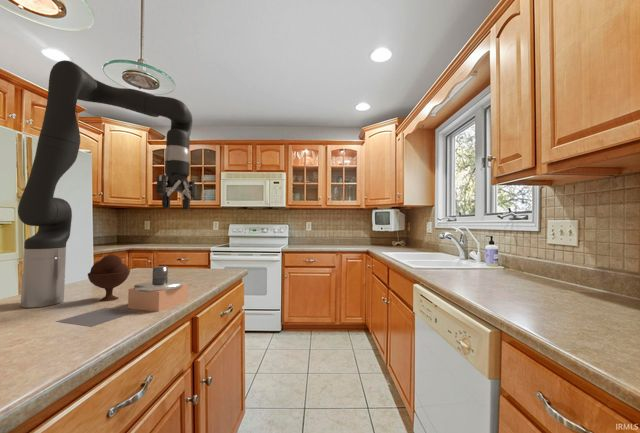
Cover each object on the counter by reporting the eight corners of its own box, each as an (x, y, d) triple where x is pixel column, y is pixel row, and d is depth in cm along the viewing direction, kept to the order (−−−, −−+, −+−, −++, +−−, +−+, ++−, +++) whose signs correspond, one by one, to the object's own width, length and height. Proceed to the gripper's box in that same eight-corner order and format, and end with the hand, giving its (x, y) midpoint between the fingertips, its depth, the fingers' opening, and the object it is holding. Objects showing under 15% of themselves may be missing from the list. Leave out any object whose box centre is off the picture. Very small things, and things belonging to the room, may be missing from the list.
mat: (55, 323, 67) (55, 321, 67) (105, 309, 79) (105, 307, 79) (91, 329, 64) (92, 326, 64) (138, 313, 76) (138, 311, 76)
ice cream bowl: (137, 297, 93) (138, 253, 93) (108, 306, 81) (110, 256, 82) (108, 296, 94) (110, 252, 94) (76, 305, 83) (78, 256, 83)
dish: (127, 309, 78) (128, 289, 79) (159, 300, 89) (159, 281, 89) (158, 313, 76) (159, 291, 76) (187, 302, 86) (187, 283, 86)
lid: (122, 289, 78) (123, 269, 78) (160, 280, 91) (160, 263, 91) (159, 292, 75) (160, 271, 75) (193, 283, 87) (193, 265, 87)
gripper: (184, 166, 100) (183, 210, 99) (150, 156, 86) (149, 207, 86) (201, 165, 98) (200, 210, 97) (170, 155, 84) (168, 207, 84)
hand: (176, 208), depth 92 cm, fingers open, 8 cm apart
